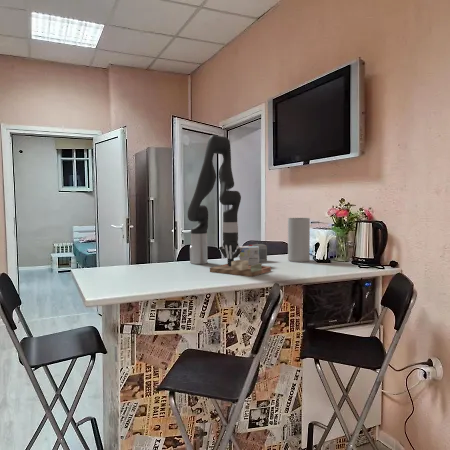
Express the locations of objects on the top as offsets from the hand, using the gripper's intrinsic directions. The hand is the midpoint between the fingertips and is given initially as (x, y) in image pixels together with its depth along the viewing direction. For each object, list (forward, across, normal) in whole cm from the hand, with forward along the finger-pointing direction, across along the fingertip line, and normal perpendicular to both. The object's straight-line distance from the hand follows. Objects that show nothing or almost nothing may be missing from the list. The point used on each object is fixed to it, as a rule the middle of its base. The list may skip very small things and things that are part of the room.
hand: (230, 266), depth 198 cm
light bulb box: (+4, -3, +22) cm, 22 cm away
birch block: (+1, +5, 0) cm, 5 cm away
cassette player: (+4, -9, +37) cm, 38 cm away
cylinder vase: (+3, +12, +53) cm, 54 cm away
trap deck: (+3, +2, +5) cm, 6 cm away
